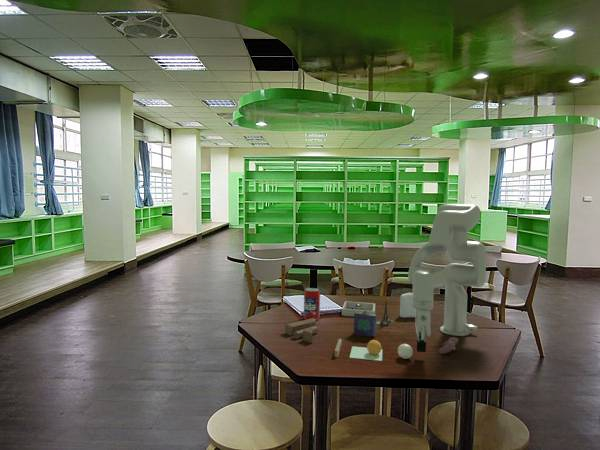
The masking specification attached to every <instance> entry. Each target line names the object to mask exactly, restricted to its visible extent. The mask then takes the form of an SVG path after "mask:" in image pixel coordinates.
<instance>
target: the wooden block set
mask: <svg viewBox="0 0 600 450" xmlns="http://www.w3.org/2000/svg"><path fill="white" fill-rule="evenodd" d="M284 331H285V332H284V333H285V334H286V335H288V336H290V337H293V338H295V339H296V340H298V339H302V340H303V341H304V342H307V343H308V344H309V343H310V344H313V335H316V334H317V333H318V332H319V328H318V327H317V320H316V319H314V318H311V319H307V320H306V319H303V320H297V321H294V322H290V323H285V325H284Z"/></svg>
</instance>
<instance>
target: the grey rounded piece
mask: <svg viewBox="0 0 600 450" xmlns="http://www.w3.org/2000/svg"><path fill="white" fill-rule="evenodd" d="M355 307H356V310H363V309H362V308H361V307H362V305H361V304H356V306H355Z"/></svg>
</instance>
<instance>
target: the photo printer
mask: <svg viewBox="0 0 600 450" xmlns="http://www.w3.org/2000/svg"><path fill="white" fill-rule="evenodd" d="M412 294H413V292H406V293H403V294H401V295H400V297H399V302H400V303H399V305H400V306H399V317H400V318H402V319H403V318H415V309H414V308H413V307H412Z"/></svg>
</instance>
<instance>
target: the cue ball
mask: <svg viewBox="0 0 600 450" xmlns="http://www.w3.org/2000/svg"><path fill="white" fill-rule="evenodd" d="M413 353H414V351H413V348H412V346H411V345H409V344H407V343H402V344H400V345H399V346H398V347H397V354H398V356H399V357H400V358H401V359H404V360H407V359H410V358H411V357H412V356H413Z"/></svg>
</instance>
